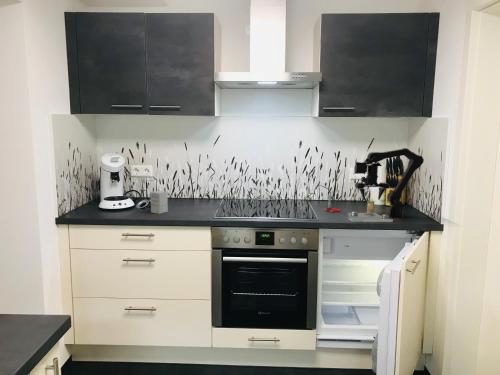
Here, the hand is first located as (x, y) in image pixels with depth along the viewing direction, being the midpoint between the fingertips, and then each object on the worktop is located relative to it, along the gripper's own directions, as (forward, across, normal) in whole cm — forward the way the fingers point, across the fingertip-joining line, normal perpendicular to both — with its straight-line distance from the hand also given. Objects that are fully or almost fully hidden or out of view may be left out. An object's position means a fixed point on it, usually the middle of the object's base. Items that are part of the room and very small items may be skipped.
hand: (371, 199), depth 240 cm
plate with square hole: (+10, +4, +10) cm, 15 cm away
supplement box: (+9, +127, -9) cm, 128 cm away
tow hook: (+10, +19, -15) cm, 26 cm away
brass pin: (+10, 0, 0) cm, 10 cm away
